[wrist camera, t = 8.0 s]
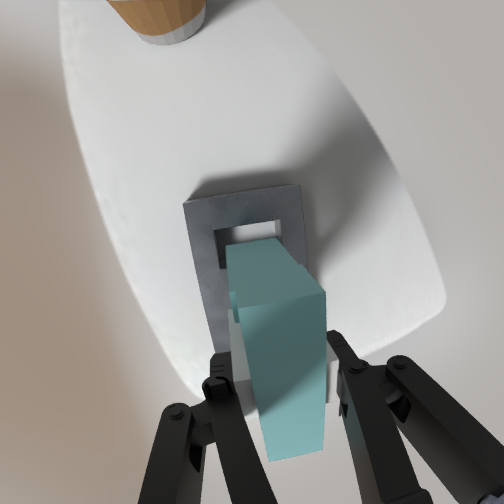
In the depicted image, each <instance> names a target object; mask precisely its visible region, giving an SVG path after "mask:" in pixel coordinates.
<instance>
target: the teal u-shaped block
mask: <svg viewBox="0 0 504 504" xmlns="http://www.w3.org/2000/svg"><path fill="white" fill-rule="evenodd" d="M225 247H226V261H227V274H228V287H229V295H230V300H231V306H232V311H233V316H234V321H235V323H240V325H241V330H242V335H243V341H244V346H245V351H246V356H247V361H248V366H249V371H250V376H251V381H252V386H253V391H254V396H255V400H256V405H257V410H258V415H259V419H260V424H261V429H262V433H263V438H264V442H265V446H266V451H267V456H268V460H269V462H270V461H276V460H281V459H286V458H290V457H295V456H300V455H304V454H308V453H312V452H316V451H320V450H322V449H323V438H324V422H325V402H326V366H327V326H326V292H325V291H324V289H323V288H322V287H321V286H320V285H319V284H318V282H317V281H316V280H315V279H314V278H313V277H312V275H311V274H310V273H309V272H308V271H307V270H306V269H305V267H304V266H303V265H302V264H301V265H298V263H297V262H296V261H295V260H294V259H293V257H292V256H291V255H290V254H289V253H288V251H287V250H286V249H285V248H284V247H283V245H282V244H281V243H280V242H279V241H278V240H277V238H276V237H275V238H269V239H263V240H257V241H251V242H244V243H238V244H232V245H226V246H225Z"/></svg>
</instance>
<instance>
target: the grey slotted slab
mask: <svg viewBox="0 0 504 504" xmlns="http://www.w3.org/2000/svg"><path fill="white" fill-rule="evenodd" d="M183 208H184V214H185V219H186V224H187V230H188V235H189V240H190V245H191V250H192V255H193V260H194V264H195V269H196V274H197V278H198V283H199V287H200V292H201V296H202V300H203V305H204V309H205V313H206V317H207V321H208V325H209V329H210V333H211V337H212V341H213V345H214V349H215V353H223V352H230V351H231V345H230V332H229V318H228V310H230V309H232V306H231V300H230V295H229V287H228V274H227V261H226V259H223V260H220V258H219V253H218V247H217V241H216V236H215V230H217V229H223V228H229V227H235V226H241V225H248V224H254V223H260V222H267V221H273V220H275V228H276V236H277V240H278V241H279V242H280V243H281V244H282V245H283V247H284V248H285V249H286V250H287V251H288V253H289V254H290V255H291V256H292V257H293V259H294V260H295V261H296V262H297V263H298V265H301V264H302V265H303V266H304V267H305V269H306V270H307V271H308V262H307V250H306V239H305V228H304V218H303V208H302V199H301V190H300V186H299V185H293V184H291V185H283V186H275V187H267V188H260V189H253V190H246V191H240V192H233V193H227V194H221V195H215V196H209V197H203V198H197V199H192V200H187V201H185V202H184V203H183Z"/></svg>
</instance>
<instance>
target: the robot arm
mask: <svg viewBox="0 0 504 504" xmlns="http://www.w3.org/2000/svg"><path fill="white" fill-rule="evenodd" d="M228 318H229V332H230V345H231V351H230V352H223V353H216V354H214V355H213V356H212V358H211V359H210V377H208V378H207V379H206V380H205V381H204V382H203V383H202V390H203V392H204V395H205V398H206V399H205V400H204V401H203V402H202V403H200V404H197V405H195V406H192V407H189V406H188V405H186V404H184V403H174V404H171V405H169V406H167V407H166V408H165V409H164V411H163V412H162V415H161V419H160V422H159V425H158V429H157V432H156V436H155V440H154V443H153V447H152V451H151V454H150V458H149V461H148V465H147V469H146V473H145V477H144V481H143V484H142V488H141V492H140V497H139V500H138V504H200V502H201V491H202V482H203V472H204V463H205V454H206V445H208V444H211V443H214V442H216V445H217V449H218V453H219V458H220V462H221V465H222V469H223V473H224V477H225V480H226V484H227V488H228V491H229V494H230V498H231V501H232V504H278V503H277V500H276V498H275V496H274V493H273V491H272V489H271V486H270V484H269V481H268V479H267V477H266V474H265V471H264V469H263V467H262V464H261V461H260V459H259V456H258V454H257V451H256V448H255V446H254V443H253V440H252V438H251V435H250V432H249V430H248V427H247V424H246V420H252V419H258V418H259V415H258V410H257V405H256V400H255V396H254V391H253V386H252V381H251V376H250V371H249V366H248V361H247V356H246V351H245V346H244V341H243V335H242V330H241V325H240V323H235V321H234V316H233V311H232V309H230V310H228ZM337 394H338V396H339V398H340V407H339V416H341V414H342V417H343V421H344V425H345V429H346V433H347V437H348V441H349V446H350V450H351V454H352V458H353V463H354V466H355V471H356V476H357V481H358V485H359V490H360V495H361V499H362V504H433V501H432V498H431V496H430V494H429V492H428V491H427V490H426V489H422V488H421V487H420V486H419V483H418V481H417V478H416V475H415V473H414V470H413V467H412V464H411V461H410V459H409V456H408V454H407V451H406V448H405V446H404V443H403V441H402V438H401V436H400V433H399V431H398V428H399V429H400V430H401V432H402V433H403V434H404V435H405V437H406V438H407V439H408V441H409V442H410V443H411V444H412V446H413V447H414V448H415V449H416V451H417V452H418V453H419V454H420V456H421V457H422V458H423V459H424V461H425V462H426V463H427V464H428V466H429V467H430V468H431V469H432V471H433V472H434V473H435V474H436V476H437V477H438V478H439V479H440V481H441V482H442V483H443V484H444V486H445V487H446V488H447V490H448V491H449V492H450V493H451V494H452V496H453V497H454V498H455V500H456V501H457V502H458V503H459V504H504V446H503V445H502V444H501V443H500V442H499V441H498V440H497V439H496V438H495V437H494V436H493V435H492V434H491V433H490V432H489V431H488V430H487V429H486V428H484V427H483V426H482V425H481V424H480V423H479V422H478V421H477V420H476V419H475V418H474V417H473V416H472V415H471V414H470V413H469V412H468V411H467V410H466V409H465V408H464V407H462V406H461V405H460V404H459V403H458V402H457V401H456V400H455V399H454V398H453V397H452V396H451V395H450V394H448V392H446V391H445V390H444V389H443V388H442V387H441V386H440V385H439V384H438V383H437V382H436V381H434V380H433V379H432V378H431V377H430V376H429V375H428V374H427V373H426V372H425V371H424V370H422V369H421V368H420V367H419V366H418V365H417V364H416V363H415V362H413V360H411V359H410V358H409V357H407V356H403V355H396V356H393V357H391V358H390V359H389V360H388V361H387V365H378V366H371V365H369V364H368V362H366V361H364V360H361V359H359V358H358V357H357V355H356V354H355V353H354V351H353V350H352V348H351V347H350V346H349V345H348V343H347V341H346V340H345V339H344V337H343V336H342V334H341V333H339V332H337V331H335V330H332V331H328V332H327V366H326V402H325V404H326V403H330V402H333V401H336V399H337ZM396 425H397V426H396ZM397 427H398V428H397Z"/></svg>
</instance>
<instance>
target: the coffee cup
mask: <svg viewBox="0 0 504 504" xmlns="http://www.w3.org/2000/svg"><path fill="white" fill-rule="evenodd" d="M107 1H108V2H109V4H110V5H111V6H112V7H113V8H114V9H115V10H116V11H117V13H118V14H119V15H120V16H121V17H122V18H123V19H124V21H125V22H126V23H127V24H128V25H129V26H130V27H131V28H132V29H133V30H134V31H135V32H136V33H137V34H138V36H139V37H140V38H141V39H142V40H143V41H145V42H148V43H150V44H155V45H172V44H176V43H179V42H181V41H184V40H186V39H187V38H189V37H190V36H192V35H193V34H194V33H195V32H196V31H197V30H198V29H199V28H200V27H201V25H202V24H203V22H204V18H205V11H206V0H107Z"/></svg>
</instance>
